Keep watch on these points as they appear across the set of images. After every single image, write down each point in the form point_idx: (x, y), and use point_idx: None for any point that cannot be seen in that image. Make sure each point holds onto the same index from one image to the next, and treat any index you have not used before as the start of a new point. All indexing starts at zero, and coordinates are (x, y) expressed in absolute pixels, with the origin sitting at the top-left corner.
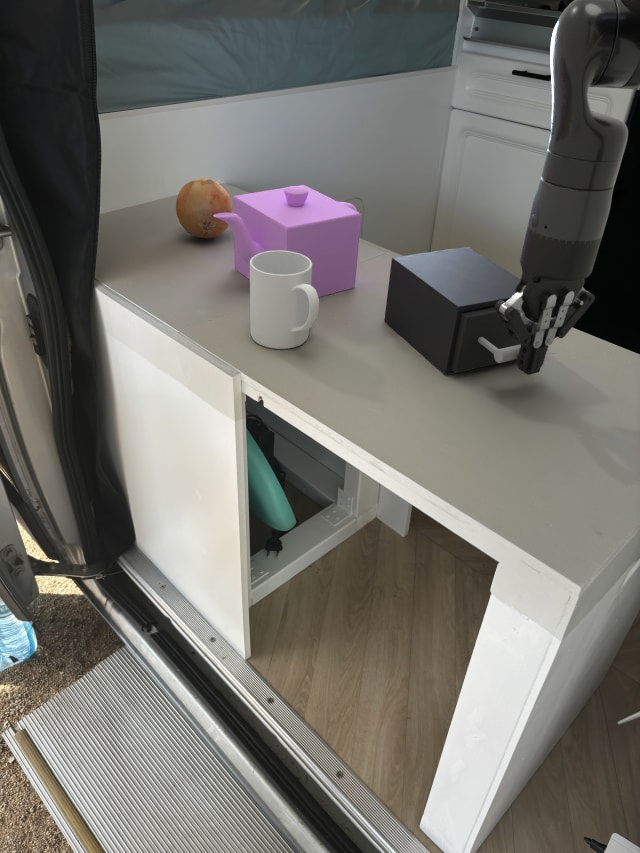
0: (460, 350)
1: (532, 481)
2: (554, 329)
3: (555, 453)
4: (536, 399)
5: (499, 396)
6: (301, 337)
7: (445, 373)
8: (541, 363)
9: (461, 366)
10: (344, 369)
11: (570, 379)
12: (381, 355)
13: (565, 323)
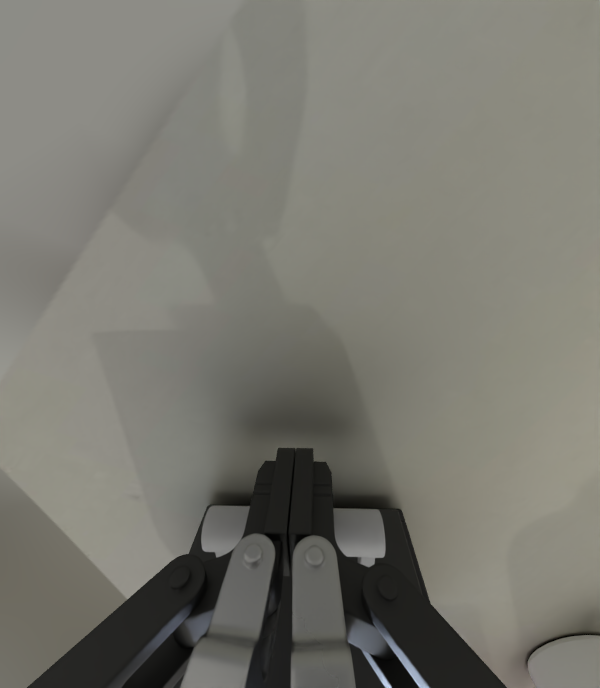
0: (415, 571)
1: (543, 107)
2: (227, 621)
3: (382, 198)
4: (273, 392)
5: (345, 426)
6: (584, 656)
7: (402, 513)
8: (275, 471)
9: (389, 522)
10: (561, 573)
11: (150, 422)
12: (464, 582)
13: (151, 644)
